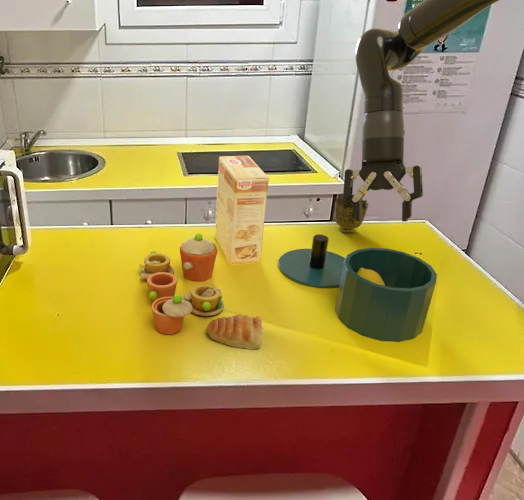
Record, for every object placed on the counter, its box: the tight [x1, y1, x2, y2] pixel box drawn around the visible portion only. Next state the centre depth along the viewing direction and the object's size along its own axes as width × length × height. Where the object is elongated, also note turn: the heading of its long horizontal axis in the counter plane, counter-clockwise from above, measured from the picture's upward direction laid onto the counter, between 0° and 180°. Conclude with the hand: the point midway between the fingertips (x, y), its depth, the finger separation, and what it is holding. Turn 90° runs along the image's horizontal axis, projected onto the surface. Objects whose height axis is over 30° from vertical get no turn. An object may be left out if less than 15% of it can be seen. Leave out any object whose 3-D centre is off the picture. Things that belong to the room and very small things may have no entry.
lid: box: [277, 234, 346, 289], centre depth 106 cm, size 16×16×8 cm
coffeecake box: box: [214, 155, 270, 266], centre depth 111 cm, size 15×7×20 cm, turn 8°
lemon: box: [357, 268, 385, 286], centre depth 93 cm, size 6×6×8 cm
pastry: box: [206, 314, 263, 350], centre depth 87 cm, size 9×7×4 cm
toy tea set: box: [138, 232, 225, 335], centre depth 96 cm, size 26×16×10 cm, turn 7°
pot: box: [334, 247, 438, 343], centre depth 90 cm, size 15×15×10 cm
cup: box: [334, 196, 369, 235], centre depth 122 cm, size 8×7×8 cm
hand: (381, 221), depth 102 cm, fingers open, 8 cm apart
